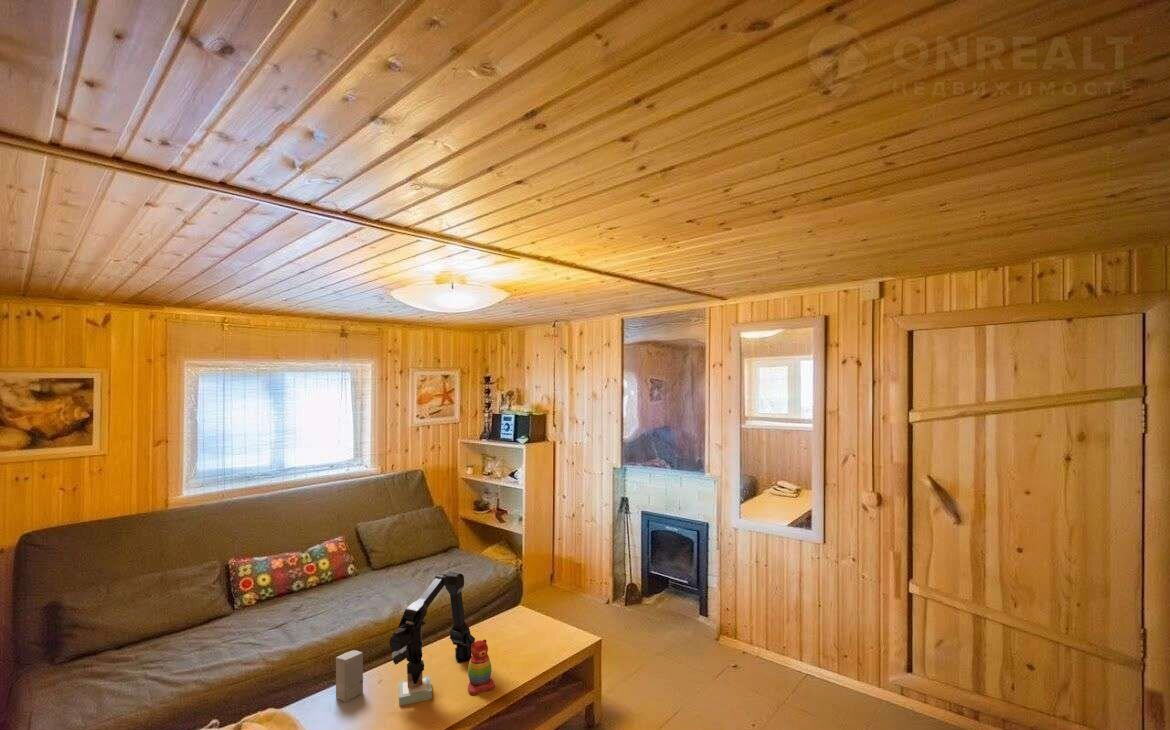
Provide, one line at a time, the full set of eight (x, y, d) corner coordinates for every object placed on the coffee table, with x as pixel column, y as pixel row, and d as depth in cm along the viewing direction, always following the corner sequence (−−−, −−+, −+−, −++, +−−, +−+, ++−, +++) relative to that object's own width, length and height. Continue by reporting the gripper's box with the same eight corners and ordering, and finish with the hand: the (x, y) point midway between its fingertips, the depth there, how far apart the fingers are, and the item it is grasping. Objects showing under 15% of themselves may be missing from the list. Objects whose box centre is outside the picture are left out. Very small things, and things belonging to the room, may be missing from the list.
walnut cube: (421, 678, 213) (421, 664, 213) (422, 685, 207) (422, 670, 208) (407, 681, 211) (407, 666, 211) (407, 688, 206) (407, 673, 206)
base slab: (429, 683, 217) (429, 675, 217) (431, 698, 205) (431, 690, 205) (398, 689, 212) (398, 681, 212) (399, 705, 201) (399, 697, 201)
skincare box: (345, 703, 204) (345, 661, 205) (334, 698, 208) (334, 657, 208) (364, 692, 211) (364, 652, 212) (353, 687, 215) (353, 647, 216)
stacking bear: (470, 696, 206) (469, 650, 207) (463, 684, 215) (463, 639, 216) (497, 688, 211) (496, 643, 212) (489, 677, 220) (488, 633, 221)
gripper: (392, 633, 216) (393, 672, 215) (393, 654, 198) (393, 697, 198) (421, 628, 220) (421, 667, 219) (423, 648, 202) (424, 690, 201)
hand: (414, 679), depth 209 cm, fingers closed on walnut cube, 5 cm apart
